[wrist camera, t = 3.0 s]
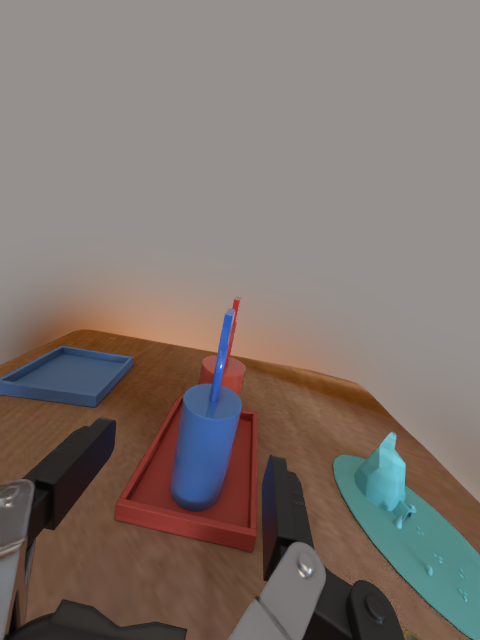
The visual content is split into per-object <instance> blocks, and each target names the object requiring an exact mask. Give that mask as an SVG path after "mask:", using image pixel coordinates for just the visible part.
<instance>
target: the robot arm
mask: <svg viewBox="0 0 480 640" xmlns="http://www.w3.org/2000/svg"><path fill="white" fill-rule="evenodd" d="M115 432H116V421H115V420H111V419H106V418H102V417H100V418H98V419H97V420H96V421H95V422H94V423H93V424H92V425H91V426H90V427H89V426H84V427H82V428H80V429H78V430H76V431H74V432H73V433H72V434H70V435H69V436H68V437H67V438H66V439H65V440H64V441H63V442H62V443H61V444H59V445H58V446H57V447H56V449H55V450H53V451H52V452H51V453H50V454H49V455H47V456H46V457H45V458H44V459H43V460H42V461H41V462H40V463H39V464H38V465H36V466H35V467H34V468H33V469H32V470H31V471H30V472H29V473H28V474H27V475H25V476H24V477H23V478H22V479H18V480H13V481H10V482H7V483H5V484H3V485H1V486H0V640H185V638H186V632H187V629H185V628H180V627H176V626H172V625H168V624H164V623H160V622H151V623H145V624H138V625H132V626H125V627H120V626H117V625H116V624H115V623H113V622H112V621H111V620H109V619H108V618H107V617H106V616H104V615H103V614H102V613H101V612H99V611H98V610H97V609H95V608H94V607H93V606H88V605H84V604H80V603H76V602H72V601H68V600H62V601H61V603H60V605H59V607H58V608H57V610H56V612H55V613H51V614H47V615H44V616H41V617H39V618H36V619H34V620H32V621H30V622H28V623H26V612H27V599H28V591H29V584H30V577H31V571H32V564H33V557H34V550H35V543H36V537H37V536H38V535H39V533H40V532H41V531H42V530H43V528H46V529H50V530H55V529H56V527H57V526H58V525H59V523H60V522H61V521H62V519H63V518H64V517H65V515H66V514H67V513H68V512H69V510H70V509H71V508H72V506H73V505H74V504H75V502H76V501H77V500H78V498H79V497H80V496H81V495H82V493H83V492H84V491H85V489H86V488H87V487H88V485H89V484H90V483H91V481H92V480H93V479H94V477H95V476H96V475H97V474H98V472H99V471H100V470H101V468H102V467H103V466H104V464H105V463H106V462H107V460H108V459H109V458H110V456H111V454H112V452H113V449H114V445H115ZM262 530H263V577H264V581H268V582H267V584H266V585H265V587H264V589H263V590H262V592H261V593H260V595H259V596H258V597H257V596H256V597H255V598H254V599H253V601H252V602H251V603H250V605H249V607H248V608H247V610H246V611H245V613H244V615H243V616H242V618H241V619H240V621H239V623H238V624H237V626H236V627H235V629H234V631H233V632H232V634H231V635H230V637H229V639H228V640H405V638H404V635H403V632H402V630H401V627H400V624H399V621H398V619H397V616H396V613H395V611H394V609H393V607H392V605H391V604H390V602H389V600H388V599H387V598H386V596H385V595H384V594H383V593H382V592H381V591H380V590H379V589H378V588H377V587H376V586H374V585H373V584H371V583H370V582H367V581H364V580H359V581H356V582H355V583H354V584H353V586H352V585H350V584H348V583H347V582H345V581H344V580H342V579H340V578H339V577H337V576H336V575H334V574H333V573H331V572H330V571H329V570H328V569H327V568H326V567H325V566H324V564H323V562H322V560H321V558H320V556H319V555H318V554H317V552H316V551H315V549H314V545H313V541H312V536H311V531H310V526H309V521H308V516H307V511H306V507H305V501H304V497H303V491H302V486H301V483H300V481H299V479H298V478H297V476H296V474H295V473H293V472H289V471H287V465H286V460H285V458H281V457H276V456H272V455H270V457H269V460H268V464H267V467H266V471H265V475H264V478H263V484H262Z"/></svg>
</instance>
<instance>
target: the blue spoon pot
mask: <svg viewBox="0 0 480 640" xmlns="http://www.w3.org/2000/svg"><path fill="white" fill-rule="evenodd" d="M234 315H235V310H234V309H228V311H227V312H226V314H225V318H224V323H223V328H222V333H221V338H220V344H219V350H218V354H217V360H216V365H215V370H214V375H213V381H212V384H199V385H196V386H193V387H191V388H189V389H188V390H187V391H186V392H185V394H184V396H183V402H182V409H181V415H180V421H179V427H178V434H177V440H176V446H175V452H174V458H173V465H172V471H171V477H170V483H169V489H170V494H171V496H172V498H173V500H174V501H175V502H176V504H178V505H179V506H180V507H182V508H184V509H186V510H189V511H203V510H206V509H208V508H210V507H212V506H213V505H214V504H215V503H216V502H217V501H218V500H219V498H220V496H221V494H222V491H223V486H224V482H225V478H226V474H227V469H228V465H229V461H230V456H231V452H232V448H233V444H234V439H235V435H236V431H237V427H238V422H239V418H240V414H241V409H242V401H241V399H240V397H239V396H238V395H237V394H236V393H235V392H234V391H232V390H230V389H229V388H226V387H224V386H221V382H222V377H223V372H224V367H225V362H226V357H227V352H228V347H229V340H230V335H231V330H232V325H233V320H234Z"/></svg>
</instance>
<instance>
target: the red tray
mask: <svg viewBox="0 0 480 640" xmlns="http://www.w3.org/2000/svg"><path fill="white" fill-rule="evenodd" d="M182 402H183V396H179V398H178V399H177V401H176V403H175V404H174V406H173V408H172V409H171V411H170V413H169V414H168V416H167V418H166V420H165V421H164V423H163V425H162V426H161V428H160V430H159V431H158V433H157V435H156V437H155V438H154V440H153V442H152V443H151V445H150V447H149V448H148V450H147V452H146V454H145V455H144V457H143V459H142V460H141V462H140V464H139V466H138V467H137V469H136V471H135V472H134V474H133V476H132V477H131V479H130V481H129V483H128V484H127V486H126V488H125V489H124V491H123V493H122V494H121V496H120V498H119V500H118V501H117V503H116V510H115V520H118V521H122V522H127V523H131V524H135V525H139V526H144V527H148V528H152V529H156V530H161V531H165V532H169V533H173V534H178V535H182V536H186V537H190V538H195V539H199V540H203V541H207V542H212V543H216V544H220V545H224V546H228V547H233V548H237V549H241V550H245V551H250V552H252V550H253V547H254V544H255V540H256V537H257V413H256V412H252V411H248V410H243V409H241V414H240V418H239V422H238V427H237V431H236V435H235V439H234V444H233V448H232V452H231V456H230V461H229V465H228V469H227V474H226V478H225V482H224V486H223V491H222V494H221V496H220V498H219V500H218V501H217V502H216V503H215V504H214V505H213V506H212V507H210V508H208V509H206V510H203V511H189V510H186V509H184V508H182V507H180V506H179V505H178V504H176V502H175V501H174V500H173V498H172V496H171V494H170V489H169V483H170V477H171V471H172V465H173V458H174V452H175V446H176V440H177V434H178V427H179V421H180V415H181V409H182Z"/></svg>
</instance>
